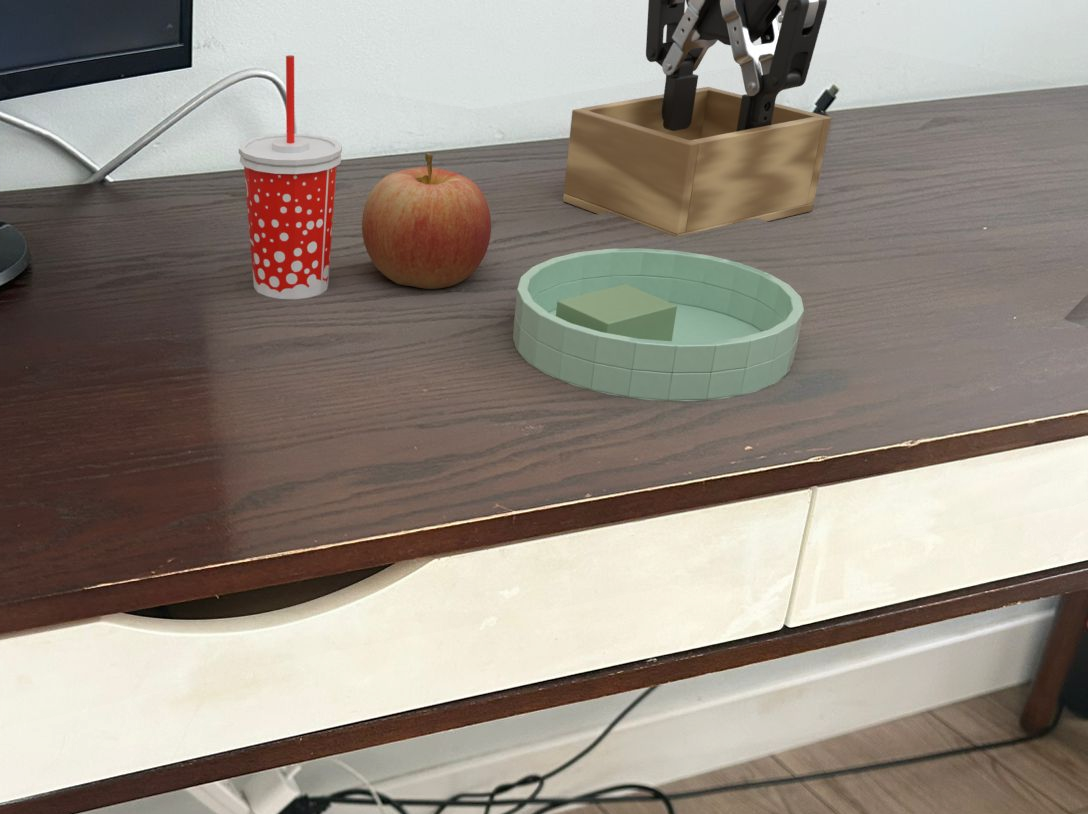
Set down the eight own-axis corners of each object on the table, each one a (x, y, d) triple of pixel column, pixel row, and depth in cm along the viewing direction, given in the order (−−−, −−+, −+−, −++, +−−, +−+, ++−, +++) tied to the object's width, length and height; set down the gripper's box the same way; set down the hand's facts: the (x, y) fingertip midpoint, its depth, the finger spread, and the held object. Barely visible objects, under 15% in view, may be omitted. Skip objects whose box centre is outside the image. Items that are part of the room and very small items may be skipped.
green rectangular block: (618, 334, 78) (625, 283, 76) (669, 357, 75) (677, 305, 73) (551, 352, 76) (556, 300, 74) (601, 377, 73) (607, 323, 71)
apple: (362, 261, 90) (365, 137, 86) (484, 263, 90) (492, 139, 85) (358, 304, 84) (360, 172, 79) (489, 307, 83) (499, 174, 79)
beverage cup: (285, 270, 89) (283, 41, 81) (359, 290, 86) (365, 54, 78) (222, 295, 85) (214, 57, 77) (297, 318, 82) (297, 72, 74)
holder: (694, 174, 107) (708, 86, 104) (812, 211, 99) (831, 117, 95) (562, 201, 101) (571, 109, 98) (675, 243, 93) (690, 144, 89)
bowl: (652, 288, 86) (660, 233, 84) (850, 369, 75) (864, 307, 73) (458, 336, 79) (462, 278, 77) (645, 433, 68) (655, 368, 66)
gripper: (881, -118, 86) (827, 153, 95) (711, -134, 96) (676, 112, 105) (799, -111, 82) (750, 169, 91) (631, -128, 93) (603, 125, 102)
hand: (711, 137), depth 98 cm, fingers open, 6 cm apart
